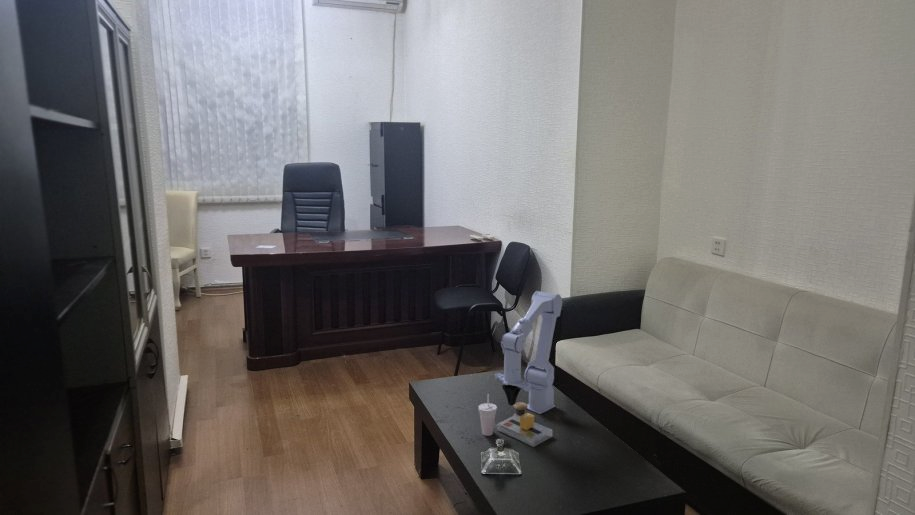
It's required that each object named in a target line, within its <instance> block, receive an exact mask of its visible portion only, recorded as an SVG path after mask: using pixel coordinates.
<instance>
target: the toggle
mask: <svg viewBox="0 0 915 515" xmlns="http://www.w3.org/2000/svg"><path fill="white" fill-rule="evenodd" d="M534 422H535V415H534V414H531V413H529V412H525V414H524V415H522V416H520V428H523V429H525V430H528V429H530V428H532V427H534Z"/></svg>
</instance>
